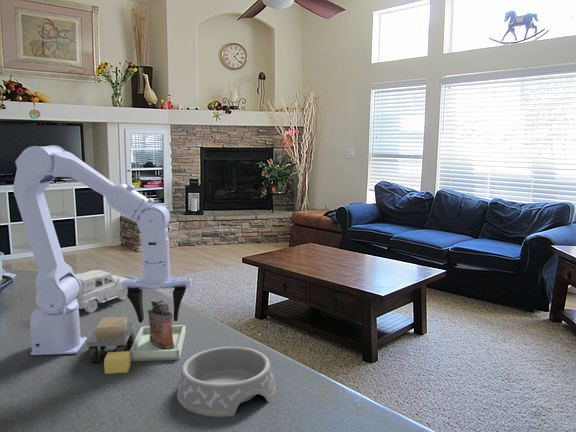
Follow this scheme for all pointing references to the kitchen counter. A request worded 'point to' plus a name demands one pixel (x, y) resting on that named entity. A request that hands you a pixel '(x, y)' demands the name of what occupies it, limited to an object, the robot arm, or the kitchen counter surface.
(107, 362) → the block
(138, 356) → the tray
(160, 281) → the robot arm
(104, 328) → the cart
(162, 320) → the lighter
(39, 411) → the kitchen counter surface
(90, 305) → the toy car
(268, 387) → the dog bowl
